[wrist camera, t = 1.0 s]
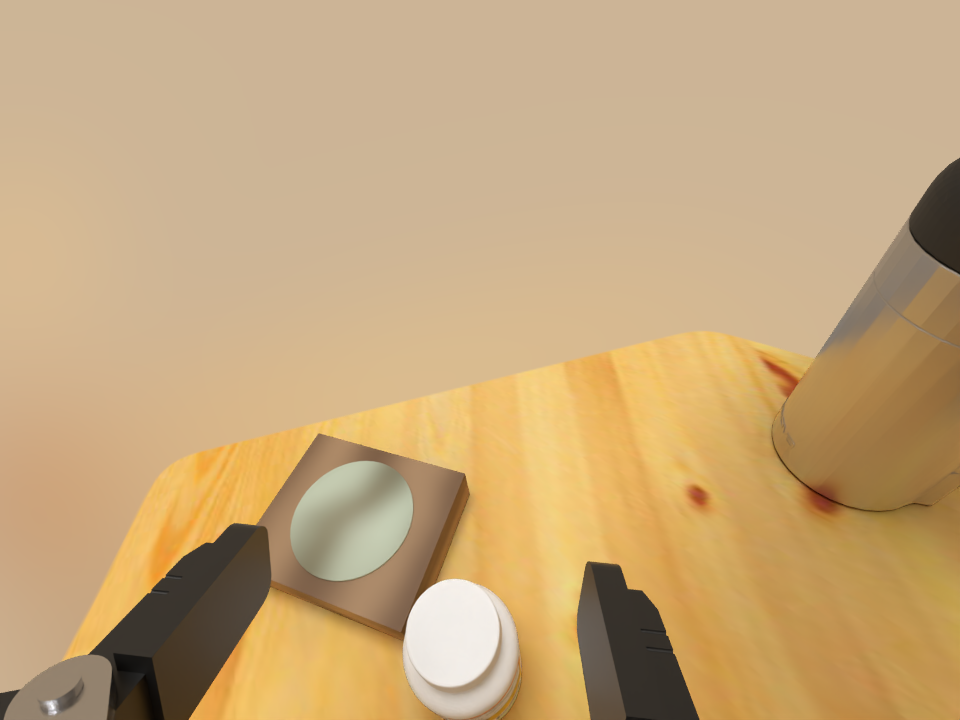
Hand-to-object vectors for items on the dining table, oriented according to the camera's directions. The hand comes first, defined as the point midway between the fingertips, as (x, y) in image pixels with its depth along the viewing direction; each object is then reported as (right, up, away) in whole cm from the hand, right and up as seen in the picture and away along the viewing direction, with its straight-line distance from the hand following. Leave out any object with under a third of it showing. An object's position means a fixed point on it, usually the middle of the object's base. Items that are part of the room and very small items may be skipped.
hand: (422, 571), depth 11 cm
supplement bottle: (+1, -13, +15) cm, 19 cm away
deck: (-7, -7, +20) cm, 23 cm away
